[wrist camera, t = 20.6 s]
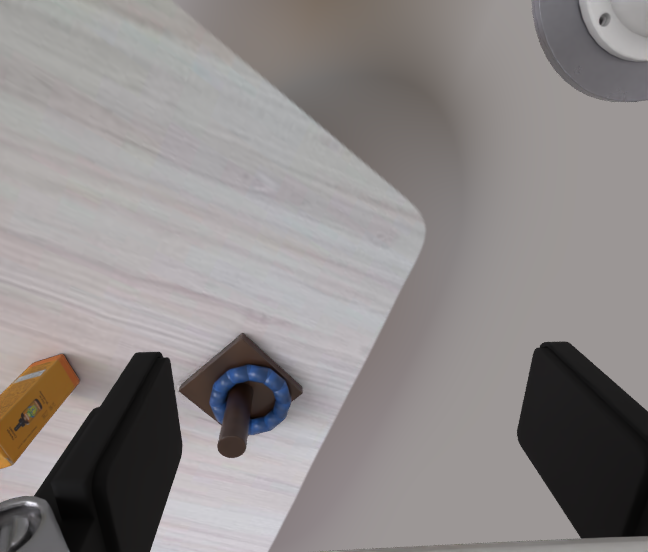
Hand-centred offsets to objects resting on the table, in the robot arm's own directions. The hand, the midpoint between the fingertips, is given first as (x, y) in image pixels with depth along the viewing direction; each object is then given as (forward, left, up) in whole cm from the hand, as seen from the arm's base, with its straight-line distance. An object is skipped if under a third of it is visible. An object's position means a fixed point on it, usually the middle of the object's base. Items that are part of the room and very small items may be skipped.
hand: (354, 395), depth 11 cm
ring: (+16, +10, -24) cm, 31 cm away
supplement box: (+28, -4, -26) cm, 38 cm away
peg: (+17, +9, -26) cm, 32 cm away
